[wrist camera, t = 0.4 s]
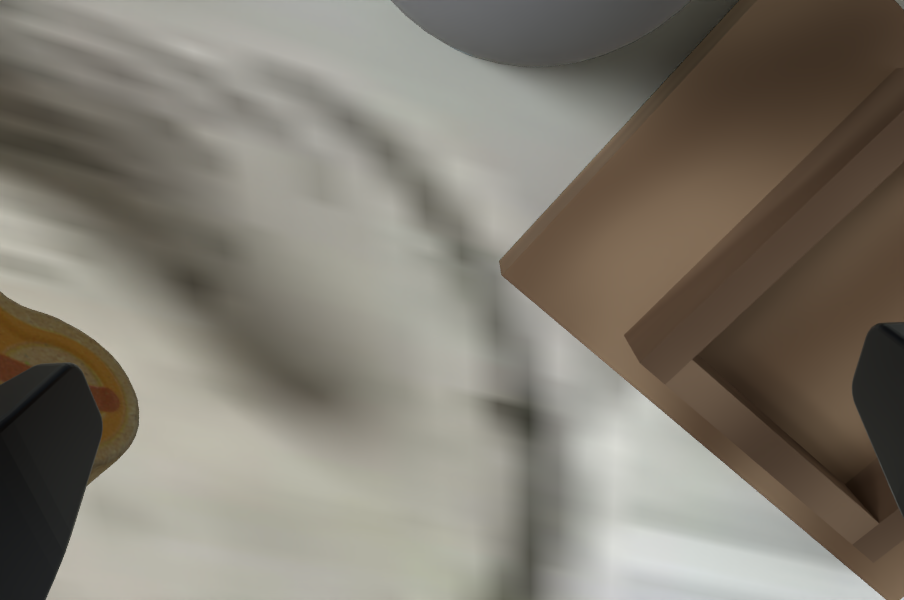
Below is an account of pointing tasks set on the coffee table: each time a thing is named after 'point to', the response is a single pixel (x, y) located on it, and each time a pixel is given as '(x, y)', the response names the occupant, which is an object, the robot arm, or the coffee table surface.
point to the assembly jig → (752, 257)
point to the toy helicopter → (53, 341)
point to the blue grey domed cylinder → (538, 26)
